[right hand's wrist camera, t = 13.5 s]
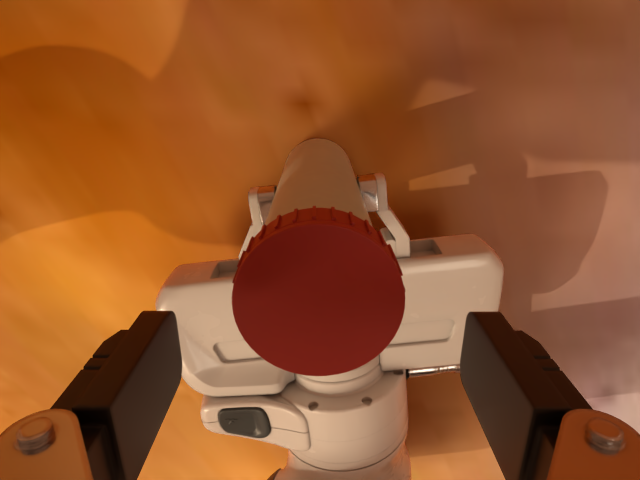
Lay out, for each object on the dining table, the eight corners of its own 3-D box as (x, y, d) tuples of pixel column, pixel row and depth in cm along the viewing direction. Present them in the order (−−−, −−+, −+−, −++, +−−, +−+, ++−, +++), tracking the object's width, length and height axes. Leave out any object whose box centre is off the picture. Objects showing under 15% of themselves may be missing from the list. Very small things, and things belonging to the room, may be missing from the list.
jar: (289, 132, 29) (253, 217, 13) (357, 144, 30) (408, 242, 13) (280, 198, 31) (236, 349, 14) (344, 208, 31) (374, 368, 15)
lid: (246, 191, 14) (238, 207, 12) (416, 219, 14) (428, 237, 13) (230, 337, 16) (221, 366, 14) (379, 358, 16) (386, 388, 15)
